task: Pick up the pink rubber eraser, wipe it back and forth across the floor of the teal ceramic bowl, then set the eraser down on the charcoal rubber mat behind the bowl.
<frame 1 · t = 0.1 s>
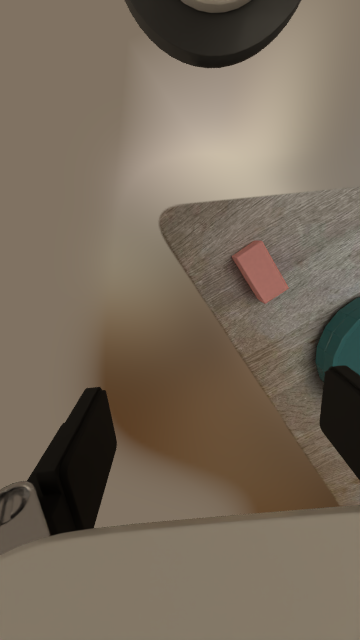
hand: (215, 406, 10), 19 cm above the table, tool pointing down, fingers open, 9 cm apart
eraser: (256, 270, 28), on the table
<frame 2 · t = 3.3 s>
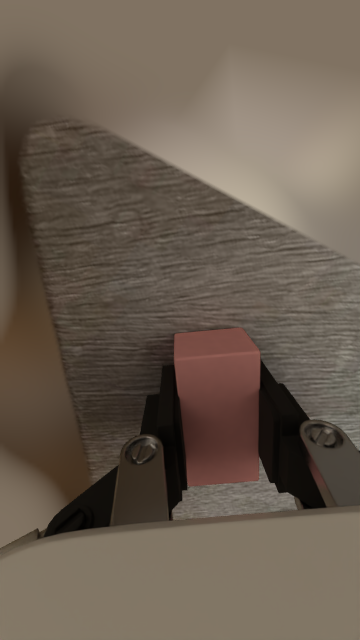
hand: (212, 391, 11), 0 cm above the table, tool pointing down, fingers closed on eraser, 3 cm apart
eraser: (211, 388, 12), on the table, touching gripper
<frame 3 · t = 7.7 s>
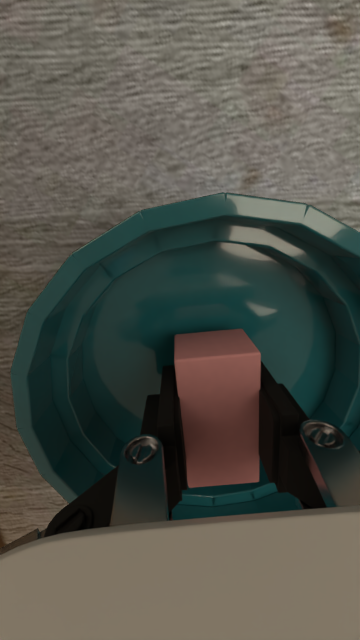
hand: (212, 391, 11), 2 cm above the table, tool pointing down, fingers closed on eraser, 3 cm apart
bowl: (207, 366, 13), on the table
eraser: (211, 389, 12), point 2 cm above the table, touching gripper
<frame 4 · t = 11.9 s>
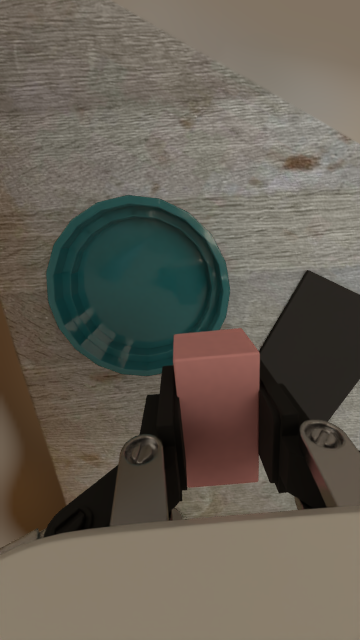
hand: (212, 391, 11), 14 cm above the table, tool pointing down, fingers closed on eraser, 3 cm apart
bowl: (144, 287, 24), on the table
eraser: (211, 389, 12), point 14 cm above the table, touching gripper
mat: (313, 358, 27), on the table
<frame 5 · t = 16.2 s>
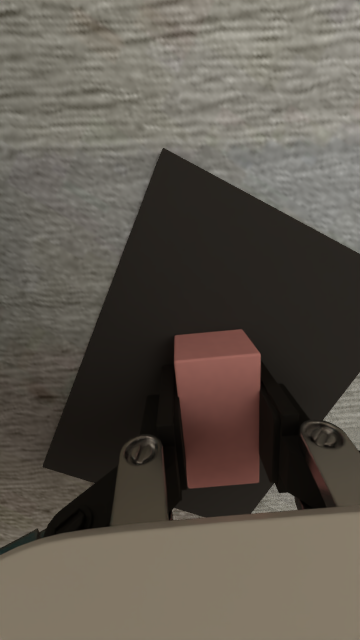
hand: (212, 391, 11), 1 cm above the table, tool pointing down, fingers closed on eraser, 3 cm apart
eraser: (211, 390, 12), resting on mat, touching gripper
mat: (210, 383, 12), on the table
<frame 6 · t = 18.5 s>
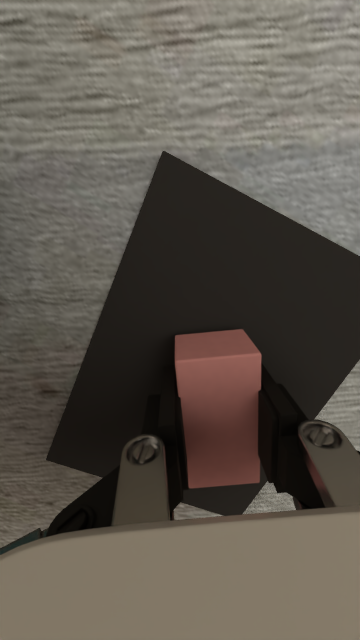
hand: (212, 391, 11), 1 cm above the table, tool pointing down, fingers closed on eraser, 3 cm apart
eraser: (212, 390, 12), point 1 cm above the table, touching gripper
mat: (209, 378, 12), on the table
when the fingers open (2 cm above the table, at t = 20.6 s): eraser drops 1 cm, resting on mat.
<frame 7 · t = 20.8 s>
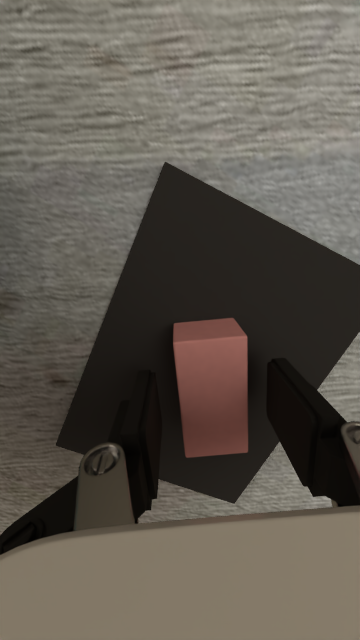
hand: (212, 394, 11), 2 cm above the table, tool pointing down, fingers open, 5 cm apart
eraser: (207, 373, 13), resting on mat
mat: (206, 369, 13), on the table
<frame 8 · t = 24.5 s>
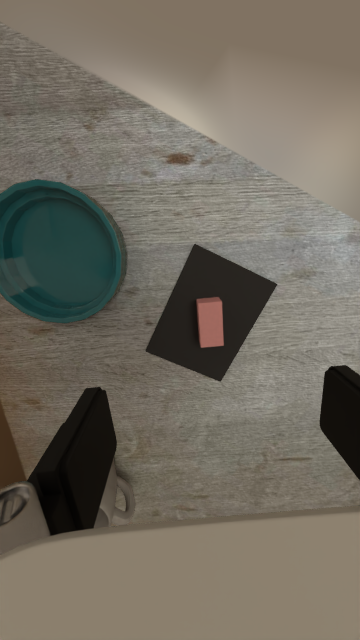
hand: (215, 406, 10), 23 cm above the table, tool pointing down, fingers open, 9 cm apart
mug: (107, 461, 42), on the table
bowl: (67, 255, 31), on the table
eraser: (208, 319, 33), resting on mat
mat: (208, 318, 34), on the table
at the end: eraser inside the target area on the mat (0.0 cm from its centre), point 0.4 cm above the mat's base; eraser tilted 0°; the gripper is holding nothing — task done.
